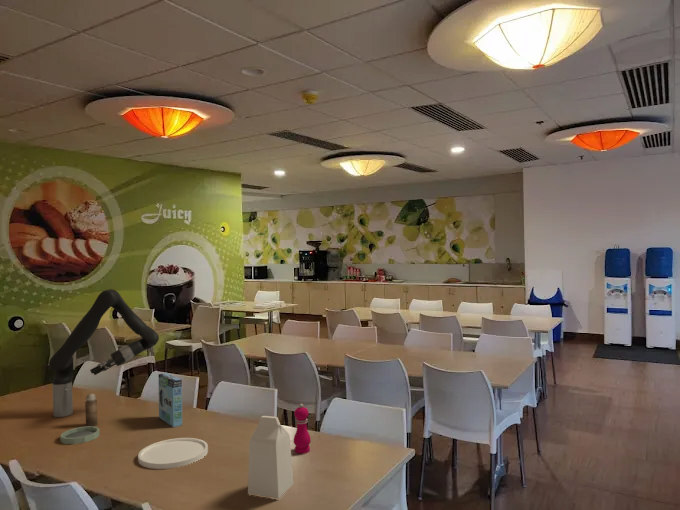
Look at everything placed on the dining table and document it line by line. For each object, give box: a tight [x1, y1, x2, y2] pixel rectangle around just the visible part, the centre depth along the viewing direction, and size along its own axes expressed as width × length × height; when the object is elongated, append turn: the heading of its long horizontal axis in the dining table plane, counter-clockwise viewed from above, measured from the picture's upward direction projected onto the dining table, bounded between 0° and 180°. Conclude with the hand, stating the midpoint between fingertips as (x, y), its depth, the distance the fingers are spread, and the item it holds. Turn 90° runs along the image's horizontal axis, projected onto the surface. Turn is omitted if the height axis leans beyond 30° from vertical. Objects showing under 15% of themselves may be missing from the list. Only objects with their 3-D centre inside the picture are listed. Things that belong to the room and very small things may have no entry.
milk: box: [247, 415, 294, 500], centre depth 180 cm, size 12×12×26 cm
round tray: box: [59, 425, 100, 445], centre depth 238 cm, size 16×16×2 cm
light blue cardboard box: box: [157, 372, 183, 428], centre depth 257 cm, size 20×5×23 cm, turn 39°
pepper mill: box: [293, 403, 312, 455], centre depth 215 cm, size 7×7×20 cm
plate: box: [137, 437, 209, 470], centre depth 214 cm, size 28×28×2 cm
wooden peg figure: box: [84, 392, 98, 427], centre depth 255 cm, size 5×5×16 cm
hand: (92, 372), depth 258 cm, fingers open, 8 cm apart
